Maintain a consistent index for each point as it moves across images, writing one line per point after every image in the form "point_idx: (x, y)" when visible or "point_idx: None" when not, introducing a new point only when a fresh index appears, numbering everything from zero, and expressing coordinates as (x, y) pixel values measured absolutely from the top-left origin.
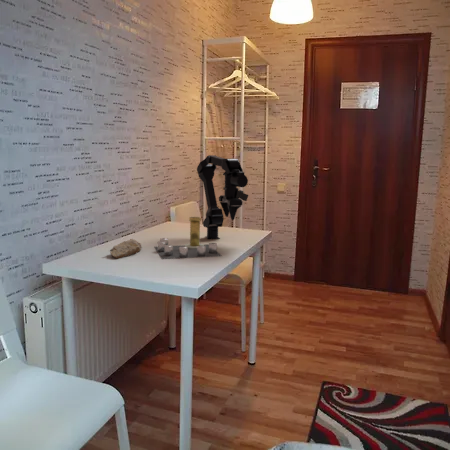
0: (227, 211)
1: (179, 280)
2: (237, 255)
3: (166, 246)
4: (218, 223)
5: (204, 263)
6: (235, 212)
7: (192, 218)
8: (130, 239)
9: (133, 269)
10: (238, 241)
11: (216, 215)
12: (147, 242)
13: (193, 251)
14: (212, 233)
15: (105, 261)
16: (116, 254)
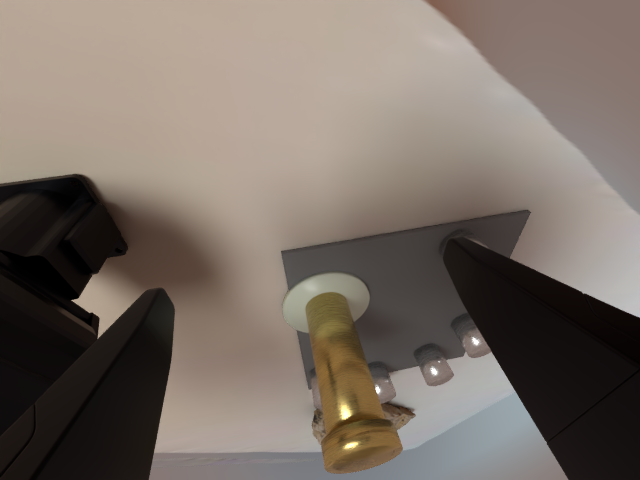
0: (134, 380)
1: (635, 310)
2: (546, 134)
3: (446, 381)
4: (17, 279)
5: (559, 269)
6: (596, 313)
7: (389, 459)
8: None
9: (503, 376)
10: (118, 7)
11: (11, 387)
12: (229, 408)
13: (408, 302)
14: (105, 256)
15: (421, 415)
16: (408, 420)
